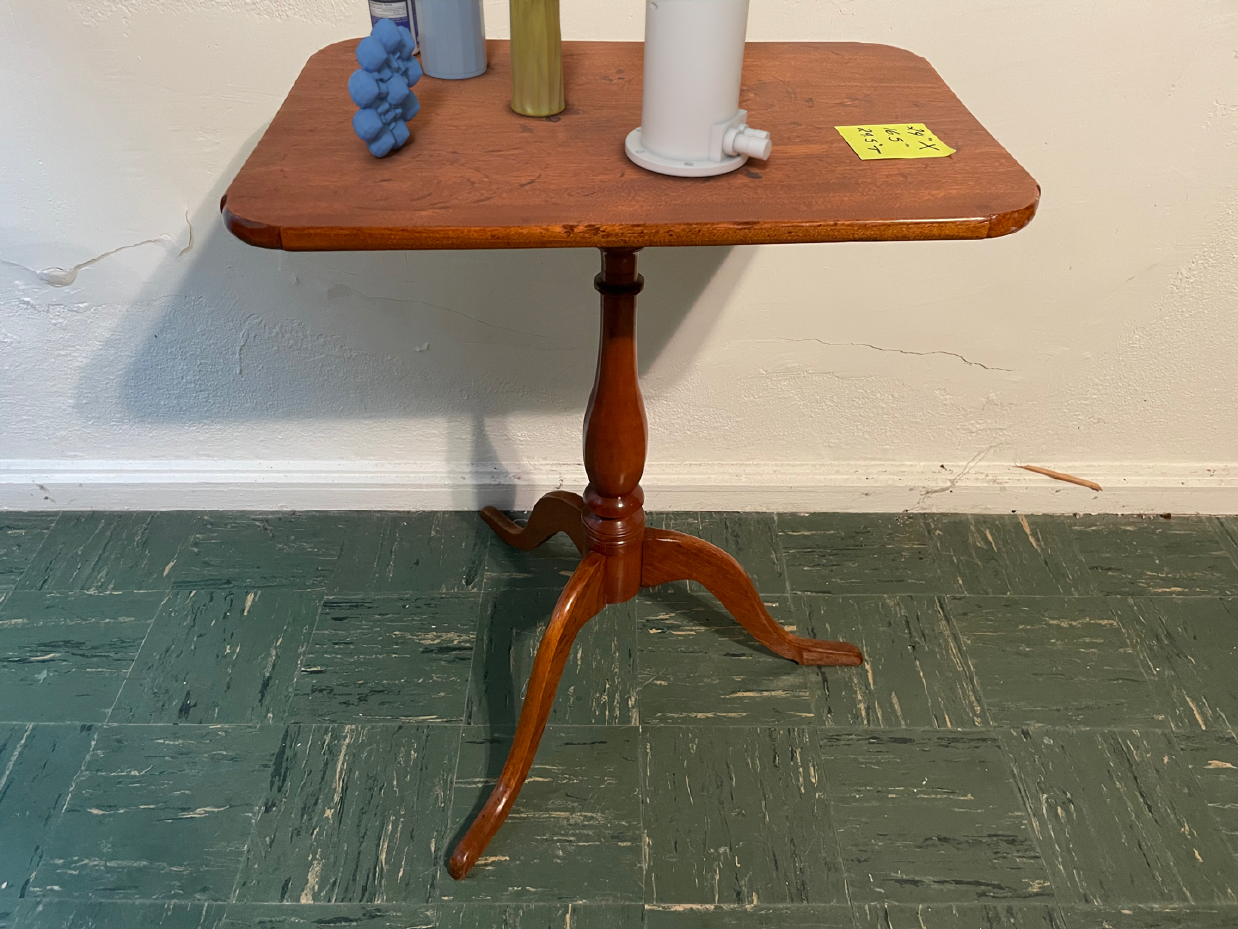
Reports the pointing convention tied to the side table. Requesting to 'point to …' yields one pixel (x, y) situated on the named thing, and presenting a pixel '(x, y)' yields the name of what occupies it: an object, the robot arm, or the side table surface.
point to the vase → (536, 58)
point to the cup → (452, 38)
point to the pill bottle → (396, 15)
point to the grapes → (385, 87)
